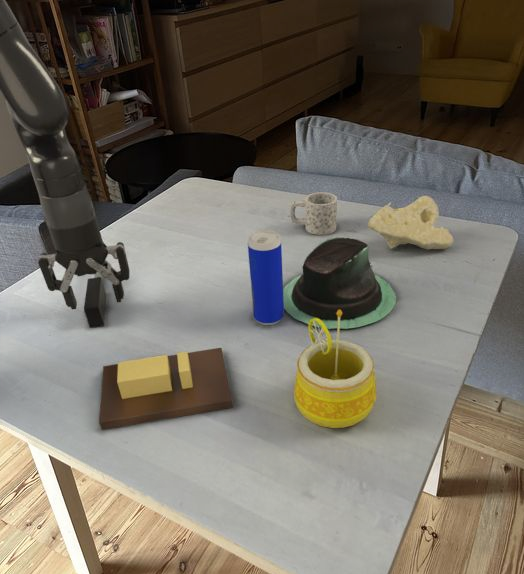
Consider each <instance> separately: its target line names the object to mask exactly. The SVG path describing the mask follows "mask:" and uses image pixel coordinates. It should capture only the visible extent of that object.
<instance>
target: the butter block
mask: <svg viewBox="0 0 524 574" xmlns="http://www.w3.org/2000/svg"><path fill="white" fill-rule="evenodd" d="M168 356H169V355H168V354H163V355H156V356H149V357H142V358H136V359H130V360H125V361H118V362H117V364H118V376H117V383H118V387H119V390H120V393H121V397H122V399H126V398H132V397H138V396H144V395H150V394H156V393H162V392H168V391H172V380H171V370H170V365H169V361H168Z"/></svg>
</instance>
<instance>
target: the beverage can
mask: <svg viewBox="0 0 524 574" xmlns="http://www.w3.org/2000/svg"><path fill="white" fill-rule="evenodd" d="M247 241H248V242H247V251H248V252H247V253H248V265H249V278H250V290H251V301H252V302H251V303H252V313H253V318H254V320H255V321H256V322H257V323H259V324H260V325H265V326H272V325H273V326H274V325H277V324H278V323H280V322H281V321H282V319H284V316H285V308H284V300H283V290H284V278H283V253H282V239H281V238H280V234H279V233H278V232H276V231H274V230H269V229H263V230H262V229H261V230H257V231H254V232H252V233H251V234H249V237H248V240H247Z"/></svg>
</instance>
